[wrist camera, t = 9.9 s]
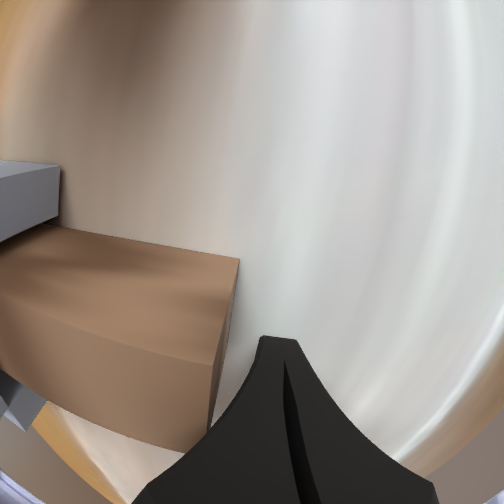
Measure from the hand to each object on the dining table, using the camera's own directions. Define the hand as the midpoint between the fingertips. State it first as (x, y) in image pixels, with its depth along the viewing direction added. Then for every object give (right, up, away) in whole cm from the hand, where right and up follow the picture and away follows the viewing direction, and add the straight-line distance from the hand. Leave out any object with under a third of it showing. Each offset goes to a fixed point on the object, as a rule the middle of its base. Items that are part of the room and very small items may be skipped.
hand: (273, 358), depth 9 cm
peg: (-7, +3, +1) cm, 7 cm away
